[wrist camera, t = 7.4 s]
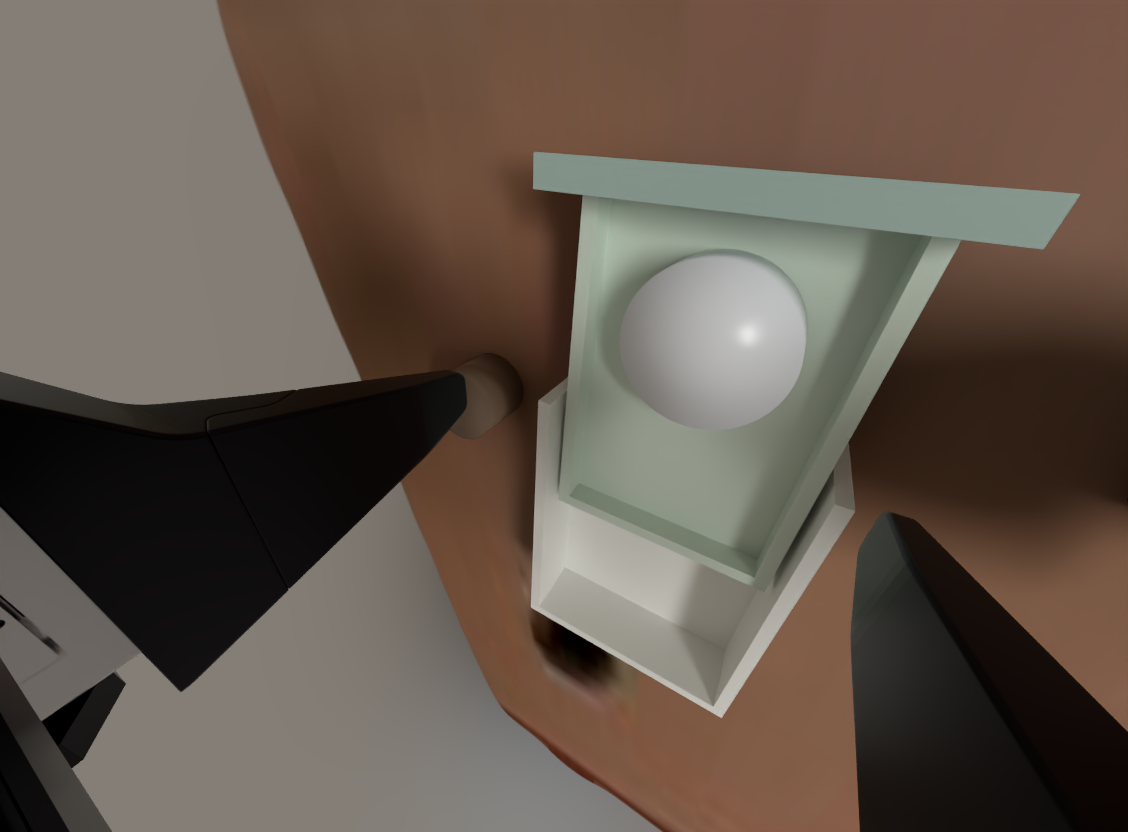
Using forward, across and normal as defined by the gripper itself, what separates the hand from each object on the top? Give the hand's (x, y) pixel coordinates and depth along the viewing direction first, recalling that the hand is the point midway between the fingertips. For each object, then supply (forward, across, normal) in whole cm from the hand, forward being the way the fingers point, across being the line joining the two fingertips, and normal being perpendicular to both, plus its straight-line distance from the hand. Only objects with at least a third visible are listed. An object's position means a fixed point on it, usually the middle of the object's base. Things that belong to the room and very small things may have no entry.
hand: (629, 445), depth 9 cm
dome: (+9, 0, 0) cm, 9 cm away
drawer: (+10, 0, +3) cm, 10 cm away
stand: (+11, +12, +7) cm, 18 cm away
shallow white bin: (+11, 0, +12) cm, 16 cm away
